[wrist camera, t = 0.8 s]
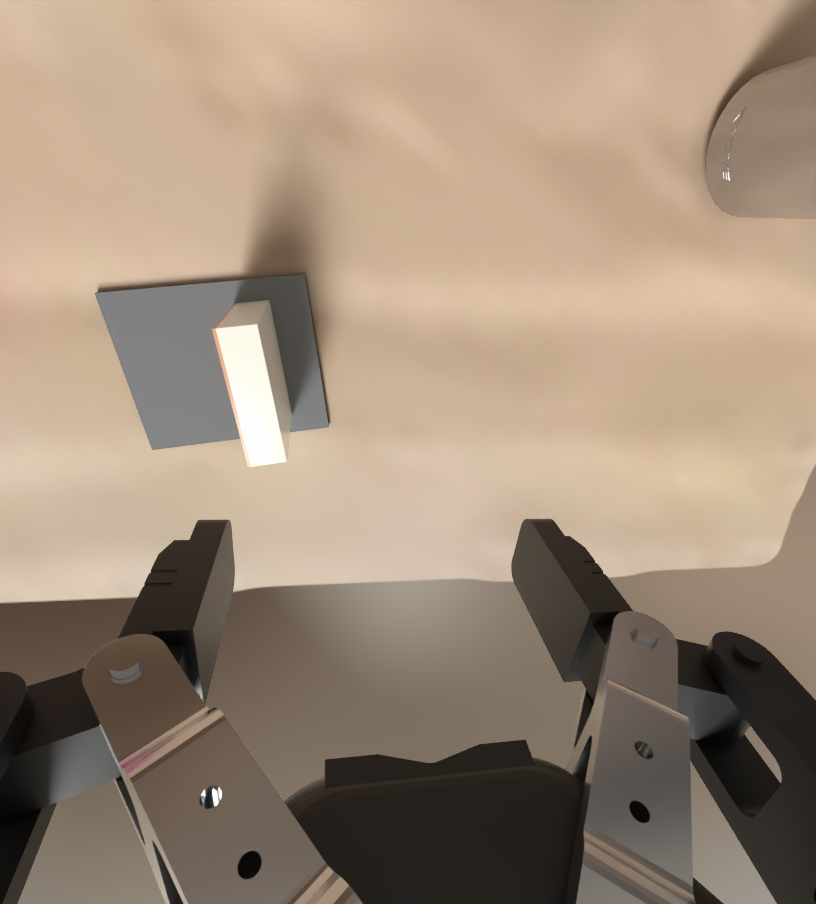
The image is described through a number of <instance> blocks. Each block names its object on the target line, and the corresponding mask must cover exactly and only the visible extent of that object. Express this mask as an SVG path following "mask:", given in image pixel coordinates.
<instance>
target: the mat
mask: <svg viewBox="0 0 816 904" xmlns="http://www.w3.org/2000/svg"><path fill="white" fill-rule="evenodd" d="M95 295H96V298H97V301H98V303H99V306H100V309H101V311H102V314H103V317H104V320H105V322H106V325H107V328H108V331H109V333H110V336H111V339H112V341H113V344H114V347H115V350H116V352H117V355H118V358H119V361H120V363H121V366H122V369H123V371H124V374H125V377H126V380H127V382H128V385H129V388H130V391H131V393H132V396H133V399H134V401H135V404H136V407H137V410H138V412H139V415H140V418H141V421H142V423H143V426H144V429H145V431H146V434H147V437H148V440H149V442H150V445H151V448H152V450H156V449H164V448H172V447H179V446H187V445H195V444H202V443H210V442H218V441H226V440H233V439H240V435H239V431H238V427H237V423H236V420H235V416H234V412H233V408H232V404H231V400H230V397H229V393H228V389H227V385H226V381H225V378H224V374H223V370H222V366H221V362H220V358H219V355H218V351H217V347H216V343H215V339H214V335H213V332H212V328H213V327H214V326H215V325H216V323H217V322H218V321H219V320H220V319H221V318H222V316H223V315H224V314H225V313H226V312H227V311H228V310H229V308H230V307H231V306H232V305H233V304H234V303H244V302H255V301H265V300H270V305H271V310H272V315H273V320H274V325H275V330H276V335H277V341H278V346H279V351H280V356H281V361H282V366H283V371H284V376H285V381H286V386H287V391H288V396H289V401H290V407H291V412H292V420H291V429H290V432H295V431H303V430H311V429H318V428H326V427H329V424H328V417H327V411H326V405H325V398H324V392H323V386H322V379H321V373H320V367H319V361H318V354H317V348H316V342H315V335H314V329H313V323H312V316H311V310H310V304H309V297H308V291H307V285H306V278H305V274H298V275H286V276H275V277H264V278H252V279H241V280H230V281H219V282H207V283H196V284H185V285H173V286H162V287H151V288H139V289H128V290H117V291H105V292H97V293H95Z"/></svg>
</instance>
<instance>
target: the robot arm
mask: <svg viewBox="0 0 816 904" xmlns="http://www.w3.org/2000/svg"><path fill="white" fill-rule="evenodd" d="M705 167H706V182H707V185H708V189H709V193H710V195H711V197H712V199H713V200H714V202H715V204H716V205H717V206H718V207H719V208H720V209H721V210H722V211H724V212H726V213H728V214H730V215H732V216H737V217H750V218H786V219H816V55H812V56H809V57H806V58H803V59H800V60H797V61H793V62H790V63H787V64H784V65H781V66H778V67H774V68H771V69H768V70H765V71H764V72H762V73H760V74H758V75H757V76H755V77H753V78H752V79H751V80H750V81H748V82H747V83H746V84H745V85H744V86H743V87H741V88H740V89H739V90H738V92H737V93H736V94H735V95H734V96H733V98H732V99H731V100H730V101H729V102H728V104H727V106H726V107H725V109H724V110H723V112H722V114H721V115H720V117H719V119H718V121H717V123H716V126H715V128H714V130H713V132H712V135H711V139H710V142H709V146H708V149H707V157H706V165H705ZM234 576H235V566H234V554H233V541H232V529H231V522H230V520H198V521H197V523H196V525H195V528H194V530H193V533H192V535H191V538H190V540H174V541H173V542H172V543H171V544H170V545H169V546H167V547H166V548H165V549H164V550H163V551H162V552H161V553H159V555H158V557H157V559H156V561H155V563H154V565H153V567H152V569H151V573H149V575H148V577H147V579H146V581H145V586H144V587H143V588H142V590H141V592H140V594H139V596H138V598H137V600H136V602H135V604H134V606H133V608H132V611H131V613H130V615H129V617H128V619H127V621H126V623H125V625H124V627H123V629H122V631H121V634H120V636H119V637H118V639H117V640H114V641H112V642H110V643H109V644H107V645H105V646H104V647H103V648H101V649H100V650H99V651H97V652H96V653H95V654H94V655H93V656H92V657H91V658H90V660H89V661H88V663H87V664H86V666H85V668H82V669H80V670H78V671H76V672H73V673H70V674H67V675H64V676H60V677H57V678H54V679H50V680H47V681H44V682H40V683H37V684H33V685H31V686H26V684H25V681H24V680H23V679H22V678H21V677H20V676H18V675H17V674H13V673H9V672H0V904H17V903H18V901H19V898H20V896H21V893H22V890H23V888H24V885H25V883H26V880H27V878H28V875H29V872H30V870H31V867H32V865H33V863H34V860H35V857H36V855H37V852H38V850H39V847H40V845H41V842H42V840H43V837H44V835H45V832H46V829H47V827H48V824H49V822H50V819H51V817H52V814H53V811H54V809H55V806H56V804H57V802H58V801H61V800H63V799H66V798H68V797H71V796H73V795H76V794H78V793H81V792H83V791H86V790H88V789H91V788H93V787H96V786H98V785H101V784H103V783H106V782H108V781H110V780H113V779H114V782H115V784H116V786H117V788H118V790H119V793H120V795H121V798H122V800H123V802H124V804H125V807H126V809H127V811H128V813H129V816H130V818H131V820H132V823H133V825H134V827H135V829H136V832H137V834H138V836H139V838H140V840H141V843H142V845H143V847H144V850H145V852H146V855H147V857H148V859H149V862H150V865H151V867H152V870H153V872H154V875H155V878H156V880H157V883H158V886H159V888H160V891H161V893H162V896H163V898H164V900H165V903H166V904H723V903H722V902H721V901H720V900H719V899H717V898H716V897H715V896H714V895H713V894H711V893H710V892H709V891H708V890H707V889H706V888H705V887H704V886H703V885H701V884H700V883H699V882H698V881H697V880H696V879H695V878H693V869H692V867H693V866H692V820H691V819H692V818H691V770H690V760H691V762H692V764H693V765H694V767H695V768H696V770H697V772H698V773H699V775H700V777H701V779H702V780H703V782H704V783H705V785H706V787H707V788H708V790H709V792H710V793H711V795H712V797H713V798H714V800H715V801H716V803H717V805H718V807H719V808H720V810H721V812H722V813H723V815H724V816H725V818H726V820H727V821H728V823H729V825H730V827H731V828H732V830H733V831H734V833H735V834H736V836H737V838H738V840H739V841H740V843H741V845H742V846H743V848H744V850H745V851H746V853H747V854H748V856H749V858H750V860H751V861H752V863H753V865H754V866H755V868H756V869H757V871H758V873H759V874H760V876H761V878H762V879H763V881H764V883H765V884H766V886H767V888H768V889H769V891H770V893H771V894H772V896H773V897H774V899H775V901H776V902H777V904H816V700H815V699H814V698H813V697H812V696H811V695H810V694H809V693H808V692H807V691H806V690H805V688H804V687H803V686H802V685H801V684H800V683H799V682H798V681H797V680H796V679H795V678H794V677H793V676H792V675H791V673H790V672H789V671H788V670H787V669H786V668H785V667H784V666H783V665H782V664H781V663H780V662H779V661H778V660H777V658H776V657H775V656H774V655H773V654H772V653H771V652H770V651H768V650H767V649H766V648H765V647H763V646H762V645H760V644H759V643H757V642H755V641H754V640H752V639H750V638H748V637H746V636H743V635H741V634H737V633H733V632H719V633H717V634H715V635H714V636H713V638H712V640H711V642H710V643H709V645H708V646H705V645H701V644H696V643H692V642H687V641H683V640H678V639H675V637H674V635H673V634H672V633H671V632H670V631H669V629H668V628H667V627H665V626H664V625H663V624H662V623H660V622H659V621H657V620H656V619H654V618H652V617H650V616H648V615H646V614H643V613H639V612H634V611H633V610H632V609H631V608H630V606H629V605H628V604H627V602H626V601H625V600H624V598H623V597H622V596H621V594H620V593H619V592H618V590H617V589H616V588H615V586H614V585H613V584H612V582H611V581H610V580H609V579H608V577H607V576H606V575H605V574H603V571H602V569H601V568H600V567H599V565H598V564H597V563H595V560H594V559H593V557H592V556H591V555H590V554H589V552H588V551H587V550H586V548H585V547H584V546H582V545H581V544H579V543H578V542H577V541H575V540H574V539H573V538H571V537H570V536H565V535H564V534H563V533H562V531H561V530H560V529H559V527H558V526H557V524H556V523H555V522H554V521H553V520H552V519H525V520H524V521H523V523H522V525H521V529H520V532H519V536H518V540H517V544H516V548H515V552H514V555H513V559H512V577H513V581H514V583H515V585H516V587H517V589H518V591H519V593H520V595H521V597H522V599H523V601H524V603H525V605H526V607H527V609H528V611H529V613H530V615H531V617H532V619H533V621H534V623H535V625H536V627H537V629H538V631H539V633H540V635H541V637H542V639H543V641H544V643H545V645H546V647H547V649H548V651H549V653H550V655H551V657H552V659H553V661H554V663H555V665H556V667H557V669H558V671H559V673H560V675H561V677H562V679H563V681H564V682H572V681H582V683H583V684H584V686H585V690H584V692H583V695H582V698H581V703H580V707H579V712H578V717H577V721H576V726H575V730H574V735H573V740H572V744H571V749H570V753H569V758H568V761H567V766H566V768H565V769H562V768H561V767H559V766H557V765H555V764H552V763H550V762H547V761H544V760H541V759H538V758H533V757H532V756H531V753H530V750H529V748H528V745H527V742H526V740H518V741H508V742H498V743H490V744H489V743H488V744H479V745H477V746H474V747H472V748H469V749H467V750H465V751H462V752H460V753H457V754H455V755H453V756H450V757H448V758H446V759H443V760H441V761H438V762H436V763H424V762H418V761H412V760H406V759H401V758H394V757H389V756H383V755H367V756H357V757H347V758H337V759H327V760H325V776H324V778H322V779H319V780H317V781H314V782H312V783H310V784H309V785H307V786H305V787H303V788H302V789H300V790H298V791H297V792H296V793H294V794H293V795H292V796H290V797H289V798H288V799H286V800H285V801H283V800H282V798H281V797H280V795H279V794H278V792H277V791H276V789H275V788H274V786H273V785H272V784H271V782H270V781H269V779H268V778H267V776H266V775H265V773H264V772H263V770H262V769H261V768H260V766H259V765H258V763H257V762H256V760H255V759H254V757H253V756H252V755H251V753H250V751H249V750H248V749H247V747H246V746H245V745H244V743H243V742H242V740H241V738H240V737H239V735H238V734H237V732H236V731H235V730H234V728H233V727H232V725H231V724H230V722H229V721H228V719H227V718H226V717H225V715H224V714H223V713H222V712H221V711H220V710H219V709H218V708H213V709H212V710H210V709H209V708H208V707H207V706H206V705H205V703H206V699H207V695H208V691H209V687H210V682H211V678H212V674H213V670H214V666H215V662H216V658H217V654H218V650H219V645H220V641H221V637H222V633H223V629H224V625H225V621H226V617H227V612H228V608H229V604H230V600H231V596H232V592H233V586H234ZM749 726H751V727H752V728H753V730H754V731H755V732H756V734H757V735H758V736H759V738H760V739H761V740H762V741H763V743H764V744H765V745H766V747H767V748H768V749H769V751H770V752H771V753H772V755H773V756H774V757H775V759H776V761H777V762H778V764H779V767H780V770H781V774H782V782H781V783H780V782H779V781H778V779H777V778H776V777H775V775H774V774H773V773H772V771H771V770H770V769H769V767H768V766H767V764H766V763H765V762H764V760H763V759H762V758H761V756H760V755H759V754H758V752H757V751H756V750H755V748H754V747H753V745H752V744H751V743H750V742H749V741H748V739H747V737H746V736H745V735H744V734H745V732H746V731H747V729H748V728H749Z"/></svg>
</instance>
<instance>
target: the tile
mask: <svg viewBox="0 0 816 904" xmlns="http://www.w3.org/2000/svg"><path fill="white" fill-rule="evenodd" d="M212 332H213V335H214V339H215V343H216V347H217V351H218V355H219V358H220V362H221V366H222V370H223V374H224V378H225V381H226V385H227V389H228V393H229V397H230V400H231V404H232V408H233V412H234V416H235V420H236V423H237V427H238V431H239V435H240V439H241V443H242V446H243V450H244V454H245V458H246V462H247V466H248V467H252V466H259V465H267V464H274V463H281V462H287V455H288V446H289V438H290V429H291V420H292V412H291V407H290V401H289V396H288V391H287V386H286V381H285V376H284V371H283V366H282V361H281V356H280V351H279V346H278V341H277V335H276V330H275V325H274V320H273V315H272V310H271V305H270V300H265V301H255V302H244V303H234V304H233V305H232V306H231V307H230V308H229V310H228V311H227V312H226V313H225V314H224V315H223V316H222V318H221V319H220V320H219V321H218V322H217V323H216V325H215V326H214V327H213V328H212Z"/></svg>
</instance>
